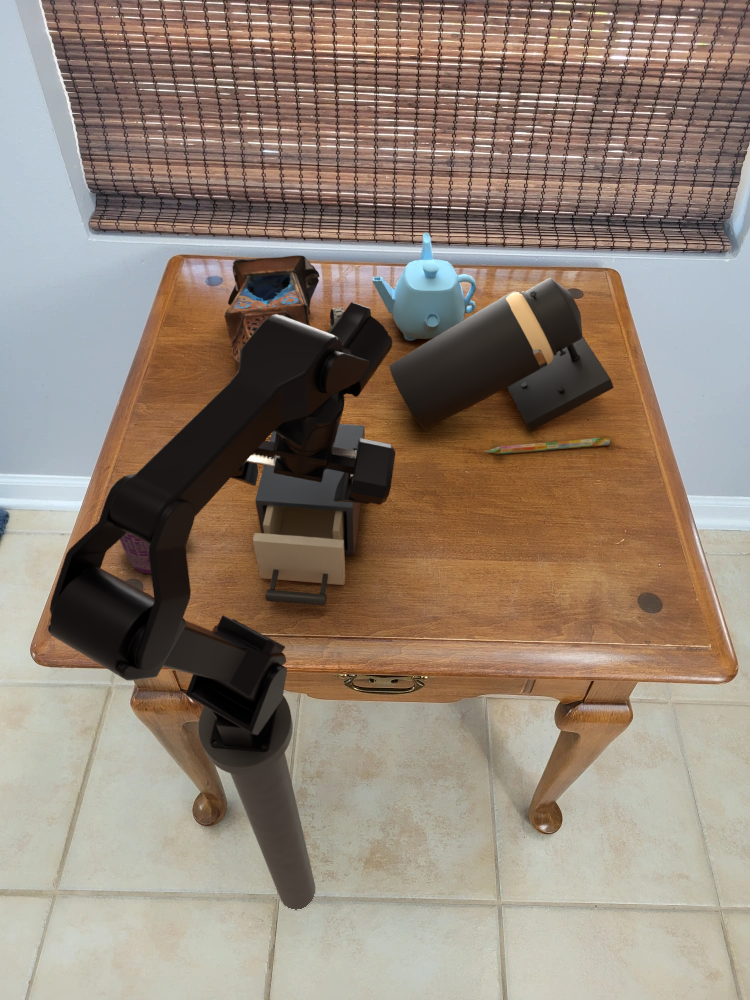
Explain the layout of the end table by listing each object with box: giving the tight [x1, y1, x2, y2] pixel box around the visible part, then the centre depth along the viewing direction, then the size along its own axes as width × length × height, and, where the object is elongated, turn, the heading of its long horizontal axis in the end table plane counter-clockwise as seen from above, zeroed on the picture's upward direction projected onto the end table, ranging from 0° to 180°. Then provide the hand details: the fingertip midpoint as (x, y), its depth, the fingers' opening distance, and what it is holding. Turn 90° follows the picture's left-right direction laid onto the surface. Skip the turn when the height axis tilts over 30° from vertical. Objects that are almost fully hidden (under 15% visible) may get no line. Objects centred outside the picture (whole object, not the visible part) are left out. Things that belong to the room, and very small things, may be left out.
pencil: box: [484, 436, 611, 455], centre depth 108 cm, size 1×1×18 cm
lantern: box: [223, 255, 320, 374], centre depth 116 cm, size 16×16×25 cm
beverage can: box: [107, 473, 151, 574], centre depth 93 cm, size 7×7×12 cm
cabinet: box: [255, 423, 366, 556], centre depth 98 cm, size 14×12×10 cm
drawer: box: [252, 505, 347, 607], centre depth 93 cm, size 17×10×8 cm, turn 175°
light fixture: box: [388, 277, 615, 433], centre depth 108 cm, size 13×18×26 cm
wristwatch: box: [329, 306, 345, 328], centre depth 123 cm, size 3×5×5 cm
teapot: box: [372, 232, 477, 342], centre depth 122 cm, size 15×14×11 cm
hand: (295, 489), depth 86 cm, fingers open, 9 cm apart
